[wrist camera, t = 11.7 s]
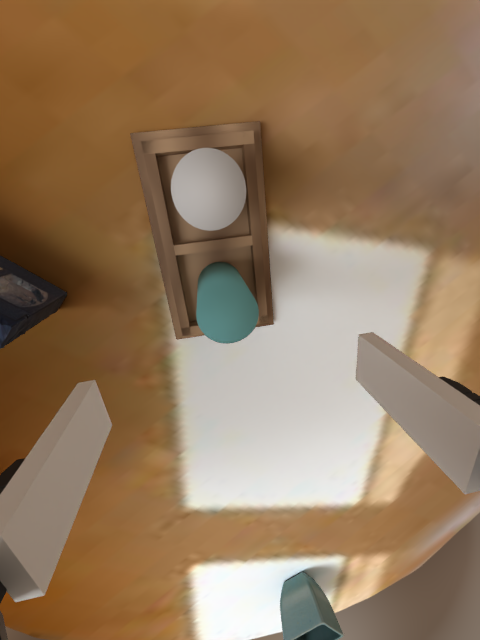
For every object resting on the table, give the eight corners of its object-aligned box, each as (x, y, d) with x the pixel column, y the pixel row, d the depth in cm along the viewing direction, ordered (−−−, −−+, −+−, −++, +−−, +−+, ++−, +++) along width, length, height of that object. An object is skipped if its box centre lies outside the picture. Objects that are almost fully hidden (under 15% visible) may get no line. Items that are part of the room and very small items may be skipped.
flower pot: (325, 578, 60) (345, 637, 51) (292, 596, 61) (306, 657, 52) (306, 562, 56) (324, 622, 48) (271, 582, 57) (283, 644, 49)
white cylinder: (186, 227, 28) (179, 235, 19) (176, 172, 26) (163, 151, 17) (234, 221, 28) (249, 226, 19) (227, 167, 26) (242, 143, 17)
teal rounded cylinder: (201, 307, 32) (201, 347, 22) (194, 265, 30) (191, 289, 20) (243, 301, 32) (261, 338, 23) (239, 258, 30) (256, 280, 21)
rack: (177, 335, 33) (175, 345, 31) (132, 136, 25) (125, 128, 23) (271, 321, 34) (276, 329, 32) (258, 124, 26) (263, 116, 24)
